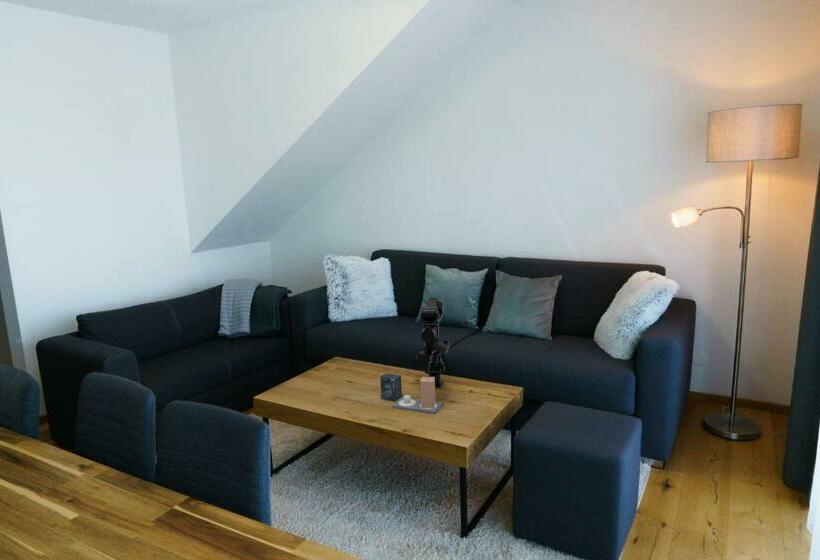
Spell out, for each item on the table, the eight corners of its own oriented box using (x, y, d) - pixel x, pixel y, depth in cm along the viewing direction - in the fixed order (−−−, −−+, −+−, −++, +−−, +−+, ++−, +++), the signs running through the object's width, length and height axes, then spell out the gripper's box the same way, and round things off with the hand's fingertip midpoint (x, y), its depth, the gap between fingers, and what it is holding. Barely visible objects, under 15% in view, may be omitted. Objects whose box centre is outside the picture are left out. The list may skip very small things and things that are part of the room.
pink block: (422, 402, 253) (422, 376, 251) (435, 403, 253) (434, 376, 250) (421, 407, 248) (420, 381, 246) (434, 408, 247) (433, 381, 245)
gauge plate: (401, 399, 261) (401, 390, 260) (443, 404, 253) (443, 396, 252) (392, 407, 252) (391, 399, 251) (435, 413, 244) (434, 405, 243)
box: (381, 398, 263) (379, 376, 260) (387, 394, 267) (386, 372, 265) (395, 401, 259) (394, 379, 257) (402, 397, 263) (401, 375, 261)
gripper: (439, 343, 245) (440, 378, 248) (454, 331, 262) (455, 364, 265) (415, 341, 250) (416, 375, 253) (431, 329, 267) (432, 362, 270)
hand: (431, 369), depth 260 cm, fingers open, 9 cm apart
